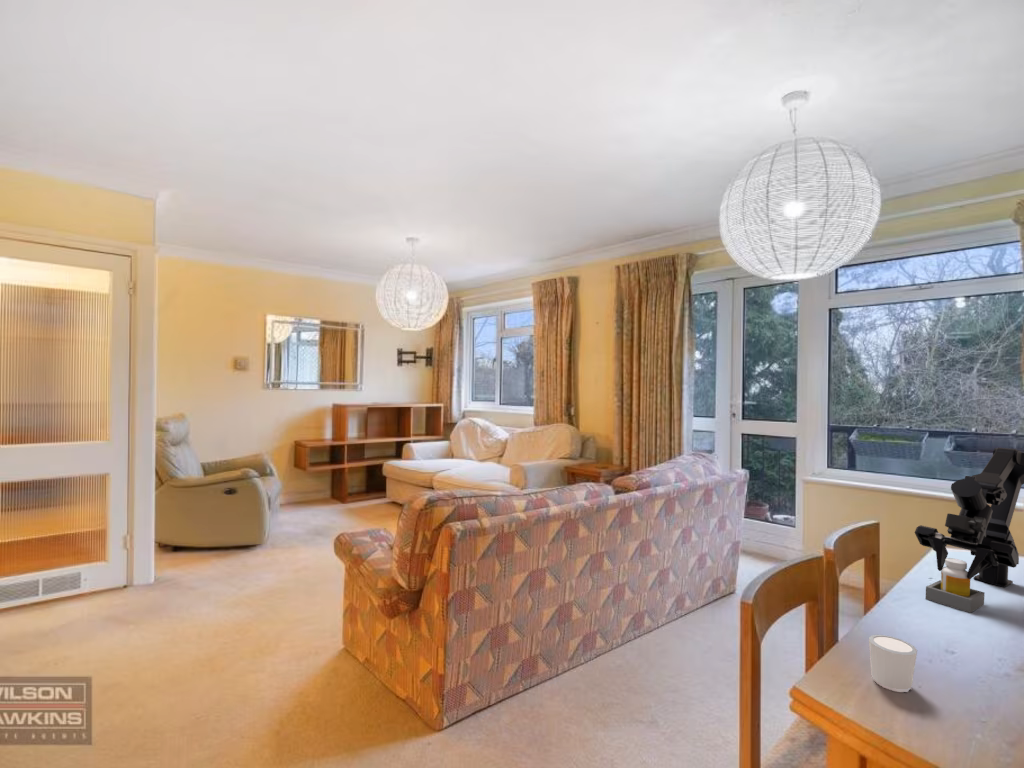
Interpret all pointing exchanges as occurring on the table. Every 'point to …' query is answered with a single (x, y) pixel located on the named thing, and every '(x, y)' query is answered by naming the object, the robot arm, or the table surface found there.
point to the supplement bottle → (955, 577)
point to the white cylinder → (892, 661)
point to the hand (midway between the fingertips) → (953, 573)
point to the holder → (955, 598)
